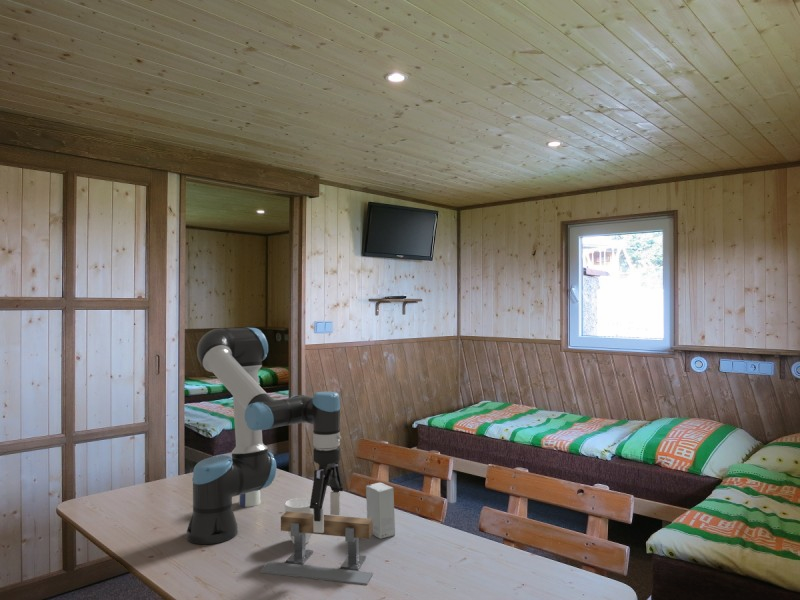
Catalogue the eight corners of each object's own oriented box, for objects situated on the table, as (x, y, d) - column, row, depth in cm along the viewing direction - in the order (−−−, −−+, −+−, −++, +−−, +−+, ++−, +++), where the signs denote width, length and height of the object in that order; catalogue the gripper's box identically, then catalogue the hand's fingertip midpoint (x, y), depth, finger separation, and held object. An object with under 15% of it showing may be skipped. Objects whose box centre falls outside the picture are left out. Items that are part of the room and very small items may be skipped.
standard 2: (340, 568, 155) (340, 528, 155) (349, 556, 163) (349, 517, 163) (358, 570, 154) (358, 530, 154) (366, 557, 162) (366, 519, 162)
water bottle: (267, 501, 208) (267, 433, 209) (249, 508, 201) (249, 437, 201) (251, 497, 213) (251, 430, 213) (233, 504, 205) (233, 435, 206)
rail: (280, 530, 161) (280, 516, 161) (286, 525, 165) (286, 511, 165) (368, 538, 156) (368, 524, 156) (372, 533, 160) (372, 519, 160)
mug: (303, 549, 167) (302, 508, 168) (279, 544, 172) (279, 504, 172) (326, 535, 178) (325, 496, 178) (304, 530, 182) (303, 493, 182)
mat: (259, 572, 153) (259, 571, 153) (269, 562, 159) (269, 561, 159) (366, 584, 146) (366, 583, 146) (373, 574, 152) (373, 572, 152)
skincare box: (395, 535, 178) (395, 487, 178) (379, 540, 174) (379, 491, 175) (381, 526, 185) (381, 481, 185) (365, 530, 182) (365, 484, 182)
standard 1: (285, 562, 159) (286, 523, 159) (297, 550, 167) (297, 513, 167) (302, 564, 158) (302, 524, 158) (313, 552, 165) (313, 514, 166)
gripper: (323, 459, 148) (324, 541, 147) (352, 438, 172) (353, 508, 172) (296, 457, 149) (297, 539, 149) (329, 437, 174) (329, 507, 173)
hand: (327, 523), depth 160 cm, fingers open, 13 cm apart
